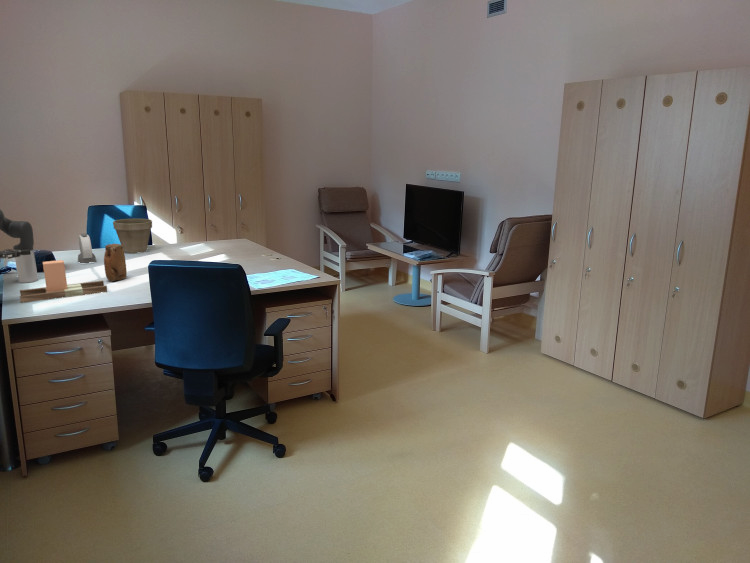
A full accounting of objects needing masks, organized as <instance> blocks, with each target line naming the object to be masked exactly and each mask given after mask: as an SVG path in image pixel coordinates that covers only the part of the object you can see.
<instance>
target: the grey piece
mask: <svg viewBox="0 0 750 563" xmlns="http://www.w3.org/2000/svg"><path fill="white" fill-rule="evenodd" d="M91 242H92V241H91V238H90V235H89V234H87V233H80V235H78V246H79V251H80V252H79V254H78V255H77V256H78V257H77V263H78V262H80V263H89V262H96V263H97V258H96V255H95V254H94V253H93V248H92V243H91Z"/></svg>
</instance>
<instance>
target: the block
mask: <svg viewBox="0 0 750 563" xmlns="http://www.w3.org/2000/svg"><path fill="white" fill-rule="evenodd" d="M104 249H105V252H104V257H103V265H104V274H105V277H106V279H107V280H108V281H109V282H116V281H121V280H124V279H126V278H127V264H126V263H127V262H126V256H125V252H124V250H123V245H121V243H112V244H111V243H109V244H106V245H105V248H104Z"/></svg>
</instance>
